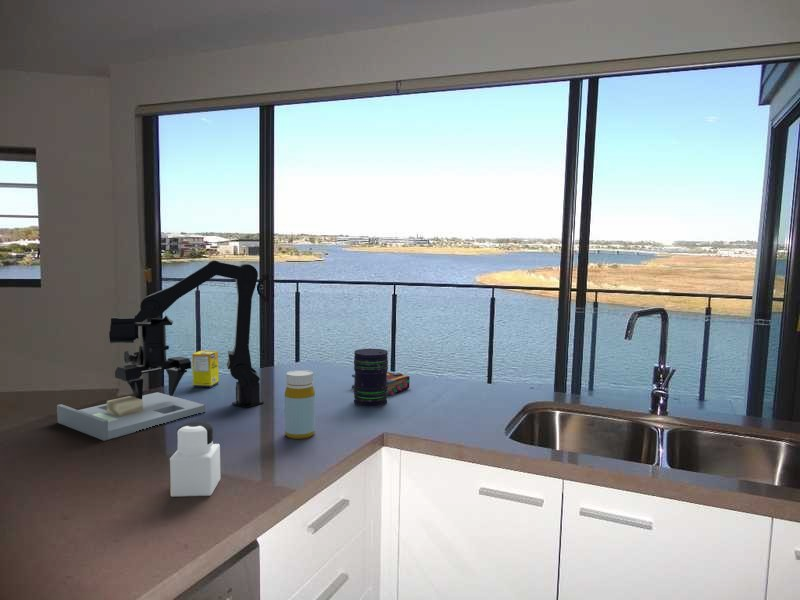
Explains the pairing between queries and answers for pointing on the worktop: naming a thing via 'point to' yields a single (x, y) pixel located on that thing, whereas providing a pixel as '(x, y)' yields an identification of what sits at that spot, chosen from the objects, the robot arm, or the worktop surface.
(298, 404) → the bottle
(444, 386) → the worktop surface
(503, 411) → the worktop surface
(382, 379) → the storage jar
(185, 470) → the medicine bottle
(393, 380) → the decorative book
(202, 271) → the robot arm
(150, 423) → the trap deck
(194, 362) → the supplement box
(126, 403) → the beech block
